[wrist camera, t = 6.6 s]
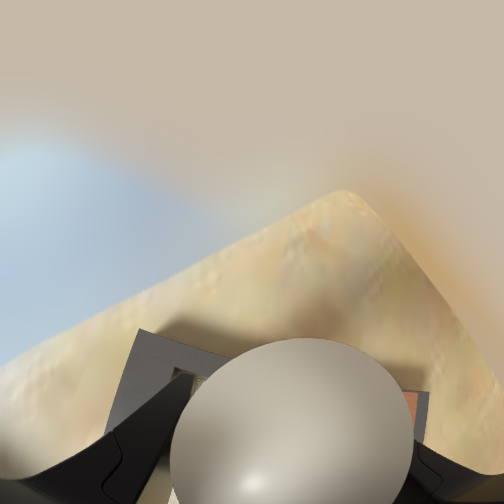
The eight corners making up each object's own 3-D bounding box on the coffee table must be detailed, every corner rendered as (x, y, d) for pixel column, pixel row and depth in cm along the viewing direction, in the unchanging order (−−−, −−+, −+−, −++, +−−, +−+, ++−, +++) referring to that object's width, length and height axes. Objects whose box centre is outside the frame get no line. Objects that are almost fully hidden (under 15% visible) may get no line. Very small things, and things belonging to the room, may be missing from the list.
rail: (393, 483, 16) (415, 488, 13) (114, 440, 15) (99, 444, 13) (408, 396, 21) (431, 391, 18) (146, 338, 20) (138, 327, 18)
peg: (259, 466, 11) (378, 553, 2) (184, 445, 11) (140, 532, 2) (279, 399, 13) (425, 362, 4) (207, 378, 13) (218, 305, 4)
